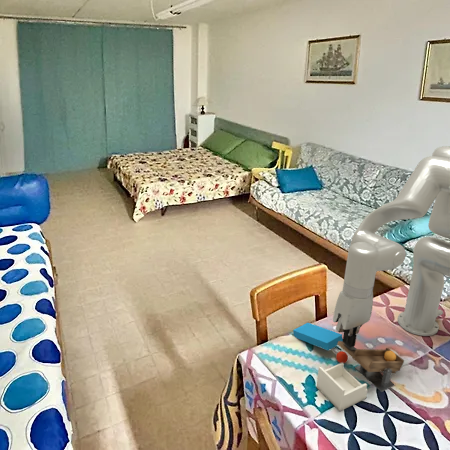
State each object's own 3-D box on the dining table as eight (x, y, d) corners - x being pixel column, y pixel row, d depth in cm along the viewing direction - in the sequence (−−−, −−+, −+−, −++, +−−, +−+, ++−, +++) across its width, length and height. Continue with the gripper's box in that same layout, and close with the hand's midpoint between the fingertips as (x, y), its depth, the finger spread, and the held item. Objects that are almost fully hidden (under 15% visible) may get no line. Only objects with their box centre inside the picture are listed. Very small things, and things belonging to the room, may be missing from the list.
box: (341, 375, 113) (344, 356, 110) (366, 398, 106) (370, 377, 103) (316, 387, 109) (318, 367, 106) (339, 411, 102) (343, 390, 99)
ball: (387, 356, 116) (391, 347, 115) (396, 363, 113) (400, 354, 112) (380, 358, 114) (383, 349, 113) (389, 365, 111) (392, 356, 110)
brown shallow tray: (364, 348, 123) (370, 335, 122) (397, 374, 112) (404, 360, 111) (334, 347, 115) (340, 333, 114) (366, 376, 105) (374, 361, 104)
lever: (295, 350, 130) (339, 369, 115) (293, 330, 129) (337, 347, 114) (310, 341, 134) (354, 359, 119) (307, 322, 133) (352, 337, 118)
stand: (367, 362, 118) (369, 347, 116) (394, 385, 110) (398, 370, 108) (354, 368, 116) (357, 353, 114) (381, 392, 108) (384, 376, 105)
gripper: (367, 275, 112) (358, 329, 119) (326, 287, 105) (319, 344, 112) (389, 288, 106) (377, 344, 113) (346, 302, 99) (337, 360, 106)
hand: (348, 343), depth 112 cm, fingers closed
